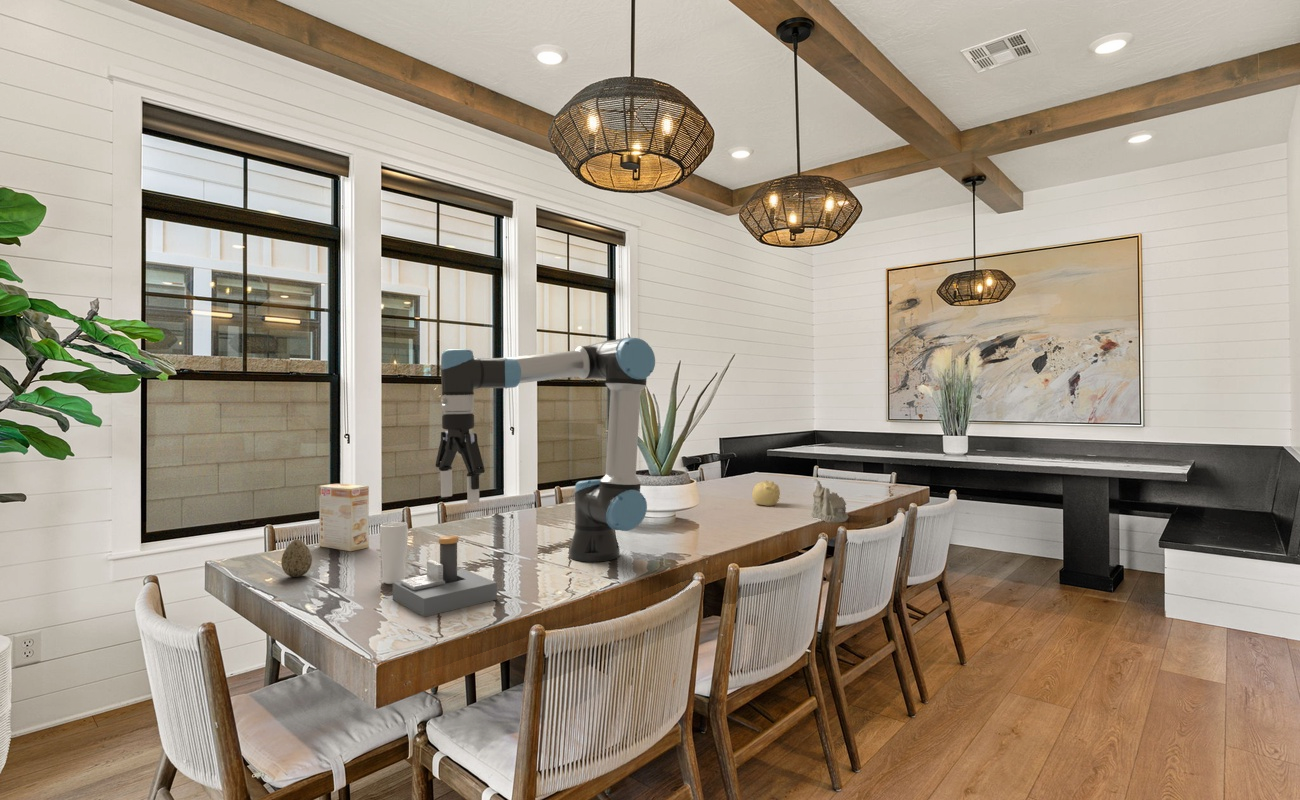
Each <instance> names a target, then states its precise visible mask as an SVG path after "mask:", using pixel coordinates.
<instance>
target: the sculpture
mask: <svg viewBox="0 0 1300 800" xmlns="http://www.w3.org/2000/svg"><path fill="white" fill-rule="evenodd" d="M751 494H752V495H751V496H752V500H753V502H754V503H755V504H756V505H761V506H766V507H773V506H775V505H777V504H778V502H779V500H780V496H781V491H780V487H779V485H778V484H776V483H775V482H774V481H772V480H771V481H770V480H765V481H760V482H758V483H756V484H755V485H754V487H753V489H752V493H751Z"/></svg>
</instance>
